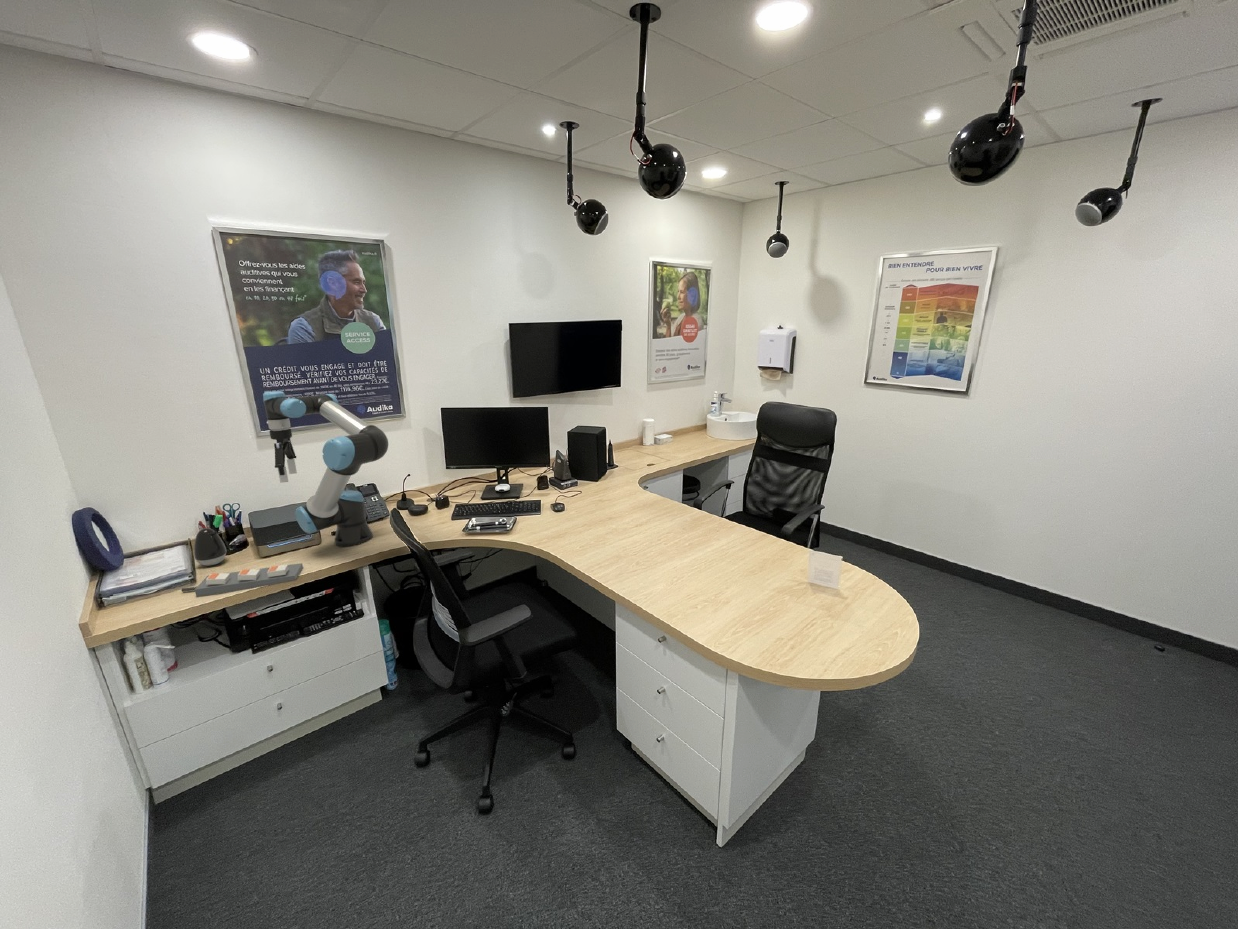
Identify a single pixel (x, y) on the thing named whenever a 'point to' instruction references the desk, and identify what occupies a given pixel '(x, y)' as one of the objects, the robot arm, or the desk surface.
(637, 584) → the desk surface
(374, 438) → the robot arm
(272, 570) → the rocker
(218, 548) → the dark grey rounded dome
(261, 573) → the power strip
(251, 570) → the block
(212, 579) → the rocker
